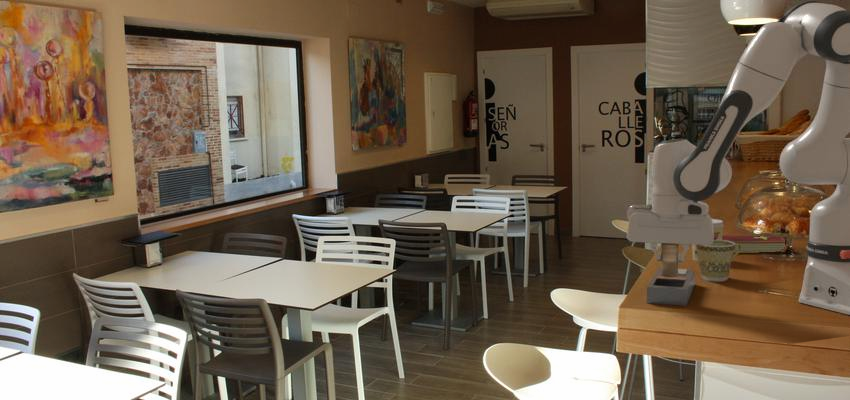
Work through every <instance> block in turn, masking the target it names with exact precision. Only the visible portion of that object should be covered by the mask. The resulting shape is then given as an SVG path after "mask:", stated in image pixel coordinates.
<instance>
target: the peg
mask: <svg viewBox="0 0 850 400" xmlns="http://www.w3.org/2000/svg"><path fill="white" fill-rule="evenodd" d="M660 245H661V249H660V251H661V252H660V253H661V261H660V263H661V265H660V266H661V267H660V268H661V276H663V277H678V269H679V262H678V254H679V244H669V243H660Z"/></svg>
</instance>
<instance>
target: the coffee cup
mask: <svg viewBox="0 0 850 400" xmlns="http://www.w3.org/2000/svg"><path fill="white" fill-rule="evenodd" d="M711 219H712V223H713V230H714V240H722V235H723V234H724V232H723V231H724V221H723V220H721V219H714V218H711ZM691 249H692V251H691V252H692V259H693V261H695V262H698V263H699V258H698V254H697V247H696V245H692V246H691Z"/></svg>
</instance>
